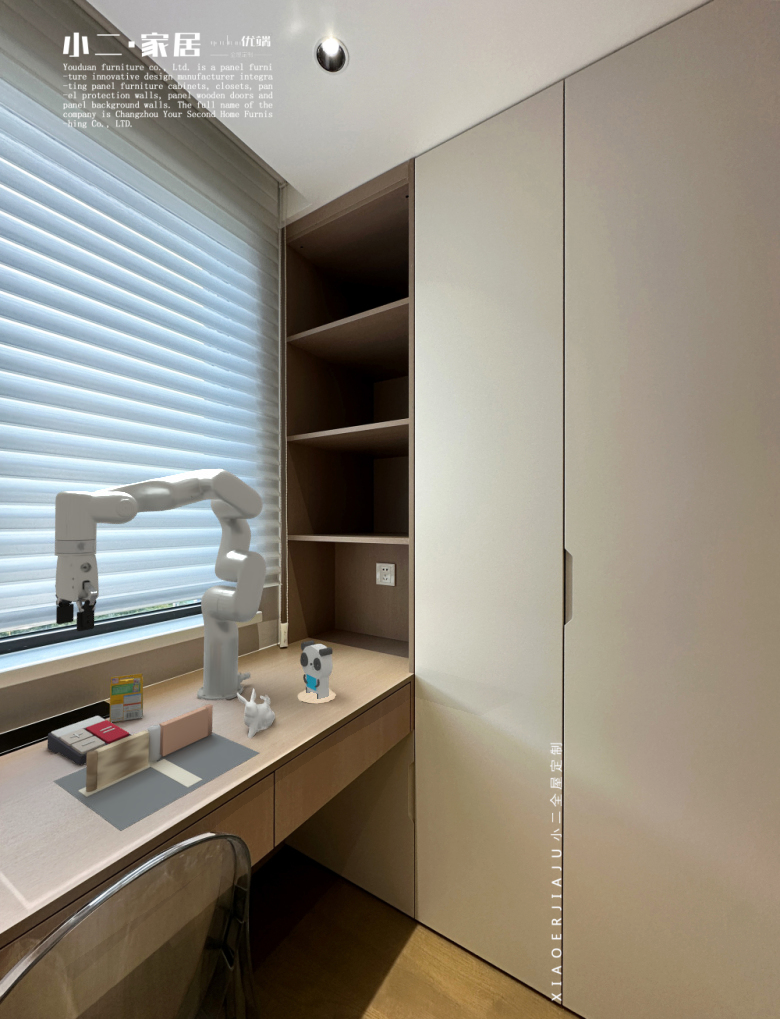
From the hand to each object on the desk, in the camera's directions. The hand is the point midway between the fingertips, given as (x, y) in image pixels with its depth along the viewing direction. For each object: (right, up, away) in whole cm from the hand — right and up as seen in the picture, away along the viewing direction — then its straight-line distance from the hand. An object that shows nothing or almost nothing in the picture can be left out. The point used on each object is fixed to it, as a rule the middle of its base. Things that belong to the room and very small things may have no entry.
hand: (74, 626), depth 101 cm
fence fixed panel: (+14, -28, -9) cm, 33 cm away
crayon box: (+1, -29, +18) cm, 34 cm away
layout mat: (+21, -29, -4) cm, 36 cm away
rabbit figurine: (+35, -29, +14) cm, 48 cm away
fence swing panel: (+22, -28, +3) cm, 35 cm away
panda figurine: (+47, -30, +35) cm, 66 cm away
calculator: (+1, -29, +4) cm, 29 cm away
